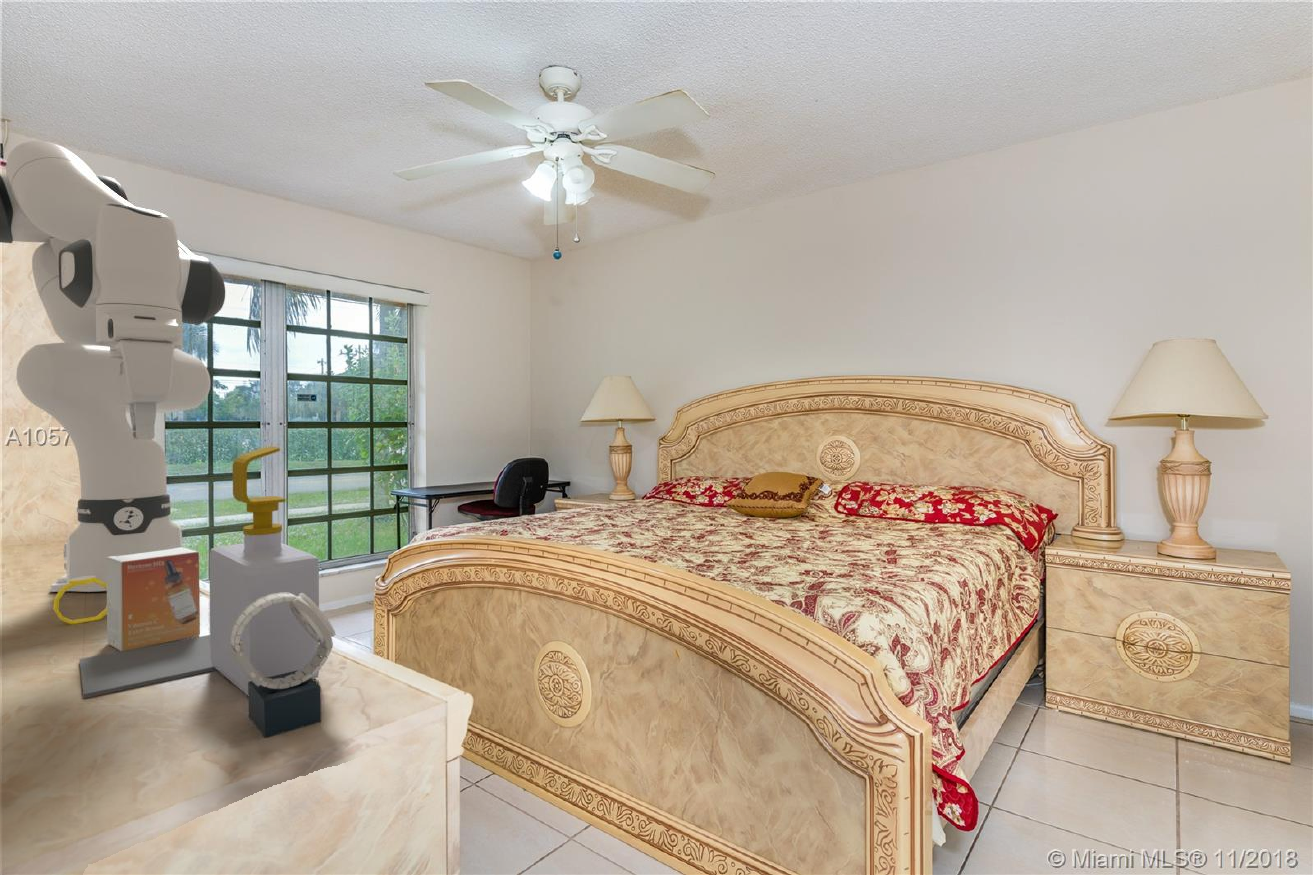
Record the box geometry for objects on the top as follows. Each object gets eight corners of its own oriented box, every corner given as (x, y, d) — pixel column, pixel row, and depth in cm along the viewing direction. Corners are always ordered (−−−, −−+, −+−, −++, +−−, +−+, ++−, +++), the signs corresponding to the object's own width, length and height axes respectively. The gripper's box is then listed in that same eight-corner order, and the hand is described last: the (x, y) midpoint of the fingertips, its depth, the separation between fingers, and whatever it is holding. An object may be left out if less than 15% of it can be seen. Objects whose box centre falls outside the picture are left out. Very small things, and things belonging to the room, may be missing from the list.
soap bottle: (321, 679, 67) (321, 449, 66) (248, 700, 62) (246, 452, 61) (275, 649, 75) (274, 443, 74) (207, 665, 70) (205, 444, 69)
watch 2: (344, 714, 59) (342, 592, 59) (240, 745, 54) (237, 610, 54) (324, 696, 63) (322, 581, 63) (225, 722, 58) (222, 597, 58)
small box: (120, 654, 76) (118, 561, 75) (106, 644, 79) (104, 556, 79) (202, 635, 82) (200, 550, 82) (185, 627, 85) (183, 545, 85)
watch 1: (57, 630, 85) (52, 585, 85) (55, 626, 87) (49, 582, 87) (117, 617, 90) (112, 573, 89) (113, 613, 91) (108, 571, 91)
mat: (79, 662, 73) (79, 659, 73) (229, 634, 82) (229, 631, 82) (83, 698, 63) (83, 694, 63) (252, 662, 73) (252, 658, 73)
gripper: (104, 338, 91) (107, 438, 92) (114, 320, 76) (117, 441, 77) (161, 341, 96) (163, 437, 96) (181, 326, 81) (184, 440, 81)
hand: (143, 439), depth 86 cm, fingers open, 3 cm apart
